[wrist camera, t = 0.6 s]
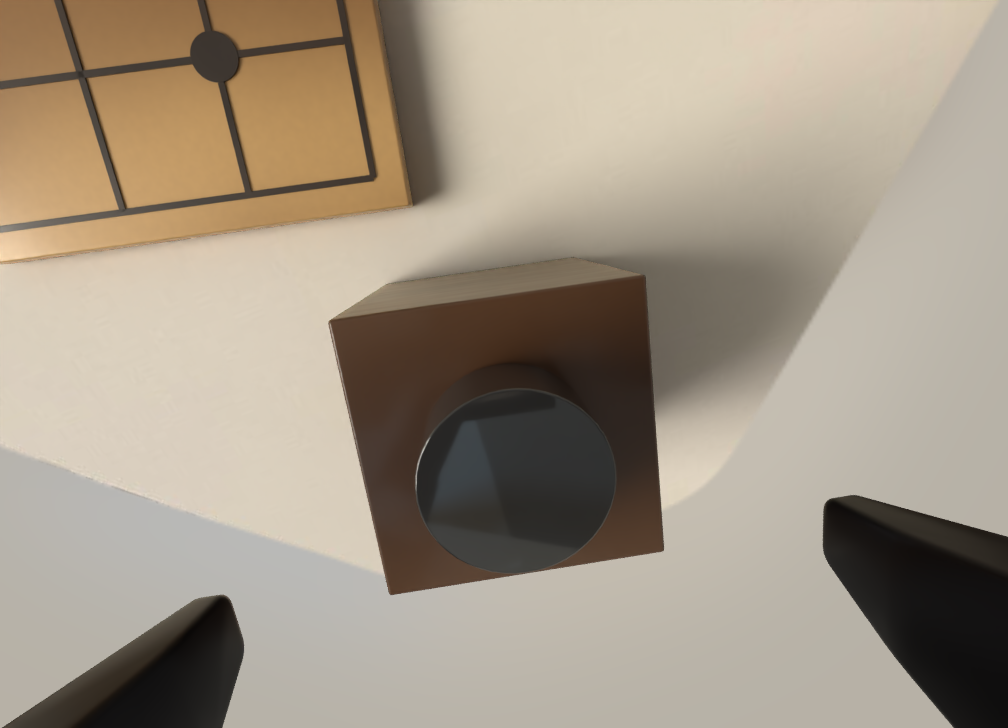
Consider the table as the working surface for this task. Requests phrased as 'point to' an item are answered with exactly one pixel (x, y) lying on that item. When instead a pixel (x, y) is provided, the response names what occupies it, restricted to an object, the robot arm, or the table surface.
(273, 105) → the board
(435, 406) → the game stone
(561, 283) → the stone stand
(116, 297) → the table surface
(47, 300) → the table surface
